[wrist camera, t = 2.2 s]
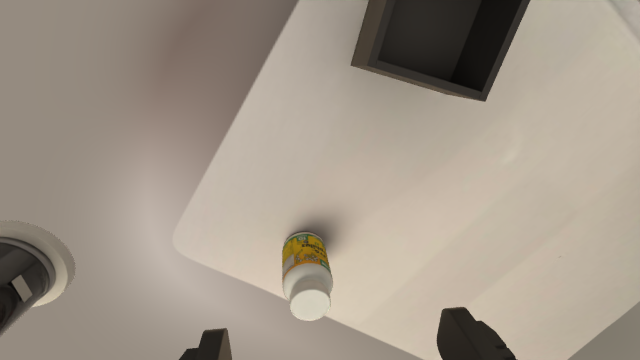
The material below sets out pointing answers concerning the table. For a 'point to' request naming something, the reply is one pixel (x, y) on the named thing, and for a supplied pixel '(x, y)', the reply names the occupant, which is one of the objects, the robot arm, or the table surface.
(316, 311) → the supplement bottle
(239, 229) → the table surface
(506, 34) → the basket
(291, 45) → the table surface
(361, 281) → the table surface
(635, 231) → the table surface
